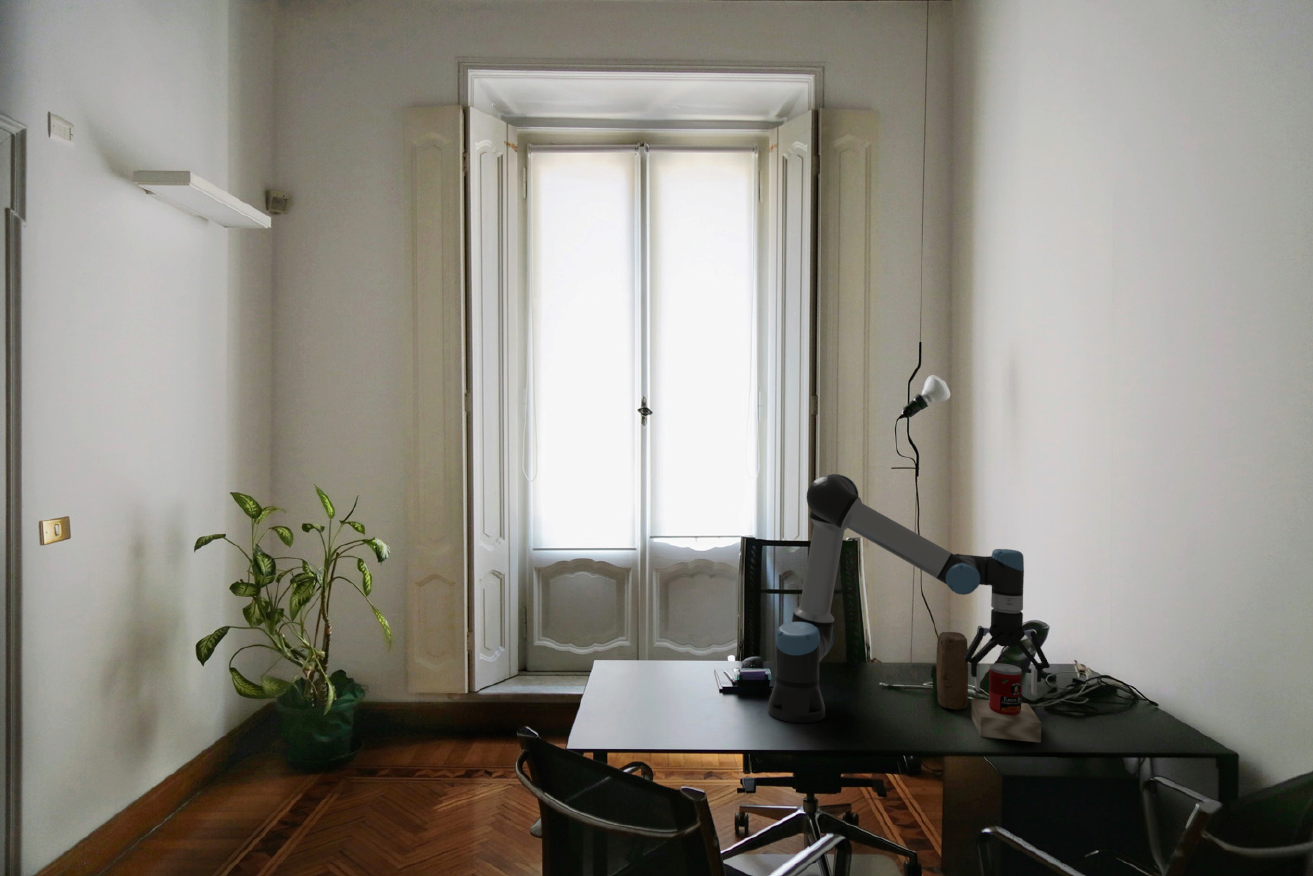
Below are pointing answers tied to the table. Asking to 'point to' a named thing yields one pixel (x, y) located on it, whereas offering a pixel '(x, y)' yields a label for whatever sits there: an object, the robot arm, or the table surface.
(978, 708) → the birch base block
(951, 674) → the block
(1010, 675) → the canned food
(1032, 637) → the robot arm
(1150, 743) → the table surface
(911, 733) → the table surface
